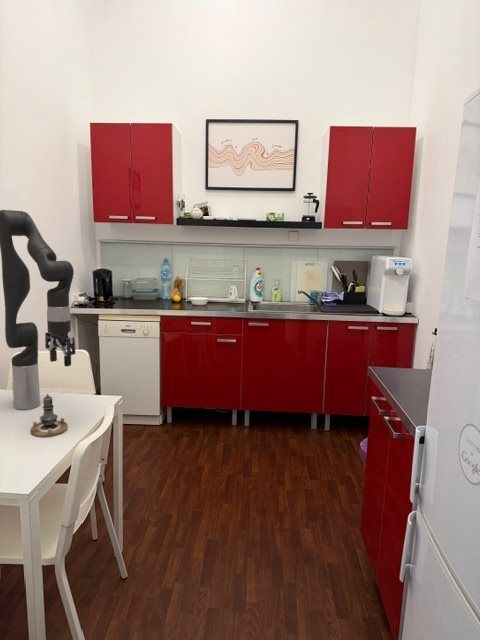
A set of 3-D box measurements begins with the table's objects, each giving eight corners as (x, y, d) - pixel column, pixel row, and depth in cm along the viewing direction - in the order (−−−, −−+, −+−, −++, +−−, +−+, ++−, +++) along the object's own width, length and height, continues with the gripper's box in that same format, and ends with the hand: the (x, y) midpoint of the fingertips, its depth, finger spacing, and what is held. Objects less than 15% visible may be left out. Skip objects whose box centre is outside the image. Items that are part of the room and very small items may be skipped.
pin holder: (23, 431, 156) (23, 424, 156) (54, 420, 166) (54, 413, 165) (43, 440, 149) (43, 433, 149) (75, 428, 159) (74, 422, 159)
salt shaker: (51, 431, 154) (50, 397, 152) (36, 429, 155) (34, 396, 153) (61, 424, 160) (60, 392, 158) (46, 422, 161) (45, 390, 159)
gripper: (37, 317, 158) (39, 361, 161) (61, 323, 150) (63, 370, 153) (56, 314, 164) (58, 357, 167) (80, 320, 156) (82, 365, 159)
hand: (60, 363), depth 160 cm, fingers open, 8 cm apart
